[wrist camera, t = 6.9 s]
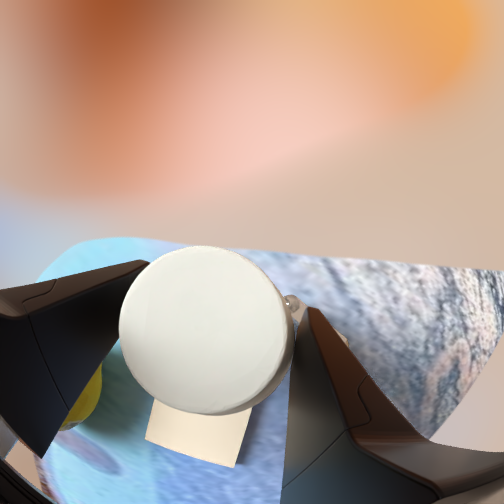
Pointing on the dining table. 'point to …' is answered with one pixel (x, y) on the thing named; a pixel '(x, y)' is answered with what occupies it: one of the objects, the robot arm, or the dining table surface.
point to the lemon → (85, 402)
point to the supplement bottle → (206, 331)
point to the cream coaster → (198, 433)
